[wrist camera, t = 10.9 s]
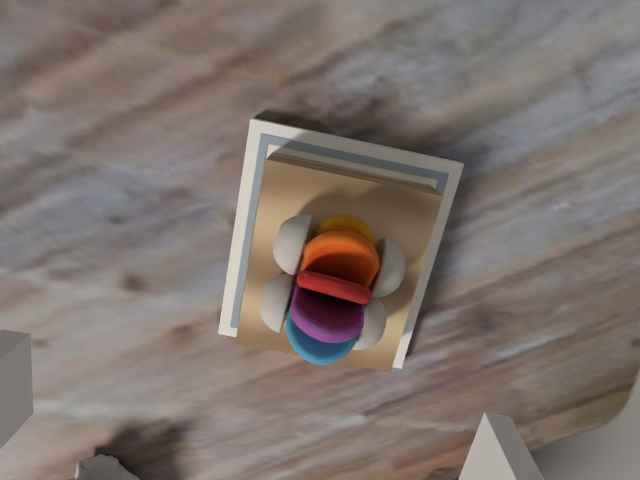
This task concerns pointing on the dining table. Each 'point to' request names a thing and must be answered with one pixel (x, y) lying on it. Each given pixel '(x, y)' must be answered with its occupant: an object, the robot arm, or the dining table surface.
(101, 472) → the white crumpled lump
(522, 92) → the dining table surface
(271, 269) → the oak plinth
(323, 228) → the rainbow fan toy
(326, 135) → the build board
